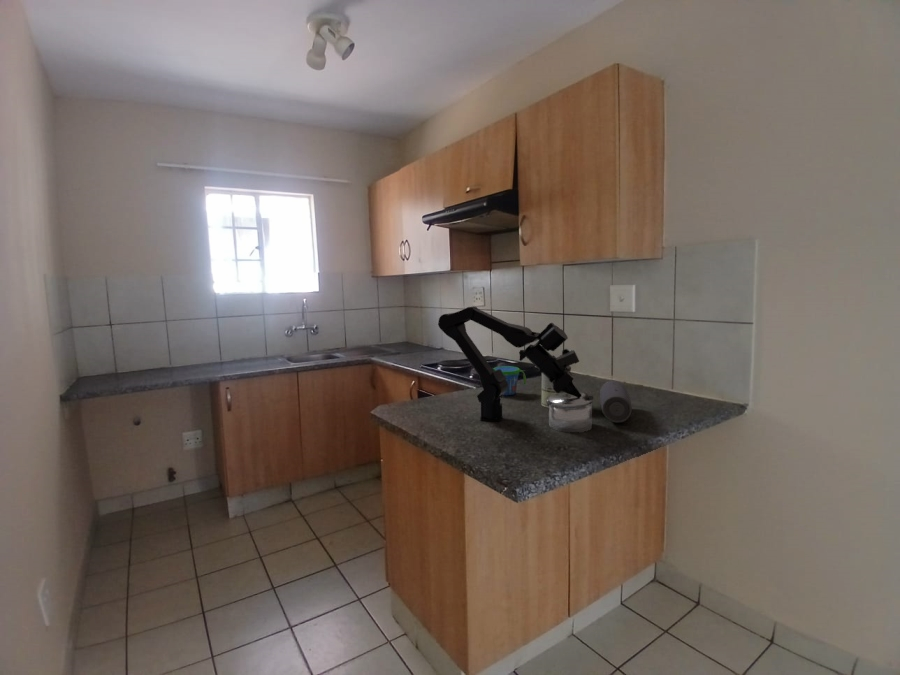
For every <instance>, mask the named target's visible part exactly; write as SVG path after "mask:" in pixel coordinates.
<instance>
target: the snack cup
mask: <svg viewBox="0 0 900 675" xmlns="http://www.w3.org/2000/svg"><path fill="white" fill-rule="evenodd" d="M492 368H493V367H492ZM493 369H494V370H498V369H500V370H501V371H502V373H503V375H504V376H505V377H506V378H507V379H506V380H507V382H508V389H507V391H506V392H505V393H503V396H513V395H515V394H516V393H517V389H518V388H517V387H518V381H519V380H518V379H519V375H520V373H522V376H523V386H525V385H526V384H527V377H526V376H527V375H526V373H525V372H524V370H522V369H520V368H519V367H517V366H512V365H511V366H508V365H507V366H506V365H505V366H495V367H494V368H493Z"/></svg>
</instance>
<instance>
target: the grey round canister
mask: <svg viewBox="0 0 900 675" xmlns="http://www.w3.org/2000/svg"><path fill="white" fill-rule="evenodd" d="M592 413H593V404H592V403H591V404H589V405H587V406H583V407H575V408H561V407H555V406H552V405H549V408H548V426H549V427H550V428H551V429H553V430H555V431H559V432H562V431H563V433H570V432H579V433H584V431H586V432H588V430H589V431H590V430H592V424H593V422H592V417H593V414H592Z"/></svg>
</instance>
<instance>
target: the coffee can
mask: <svg viewBox="0 0 900 675" xmlns="http://www.w3.org/2000/svg"><path fill="white" fill-rule="evenodd" d="M567 368H568V369H567V370H565V371H564V372H568V373H569V372H570V373H571V372H572V371H571V369H572V366H571V365H569V366H567ZM571 374H572V373H571ZM560 393H565V392H562V391H561V392H560ZM560 393H557V392H556V391H555V390H554V389H553V387H552V383H551V382H550V381H549V379H548V378H547V377H546V376H545V375H544V374H543V373H541V398H540V399H541V402H540V403H541V406H542V407H544V408H546V409H549V405H547V402H546V398H547V397H550V396H552V395H555V394H560Z"/></svg>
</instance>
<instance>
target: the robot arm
mask: <svg viewBox="0 0 900 675" xmlns="http://www.w3.org/2000/svg"><path fill="white" fill-rule="evenodd" d="M469 321H472V322H474V323H477V324H478V325H480V326H481V327H485V328H487V329H488V330H490V331H492V332H494V333H496V334H499V335H500V336H501V337H503V339H504V340H505V341H506V342H507V343H509V344H510V345H512V346H513V347H515V348H518V349H519V348H523V347H525V346H527V347H526V348H525V349H520V350H519V351H518V354H519V360H518V361H521V362H522V361H523V360H524V359H525V358H526V359H528V360H529V362H531V363H532V365H534V366H535V367H536V368H537V369H538V371H539V372H540V374H542V373H543V374H544V375H545V376H546V377H547V378H548V379H549V381H550V382H551V383H552V387H553V389H554V390H555V391H556V392H557V393H560V392H561V391H562V392H565V393H568V394H570V395H573V396H575V397H578V398H580V397H581V396H582V395H581V394H580V393H581V392H580V391H579V389H578V388H577V387H576V385H575V383H574V382H573V380H574V376H573V374H572V373H570V372H569V373H568V372H564V371H565V370H567V369H568V368H567V366H571V365H574V364H578V363H579V362H580V359H579V357H578V355H577V352H576V351H575V350H574V349H573V350H569V349H568V348H564V349H562V350H561V355H559V356H557V357H556V356H555V355H553V354H551V353H550V352H549V351H552V352H555V351H556V350H557V349H559V347H561V345H562V344H563V343H565V342H566V341H567V340H569V338H568V335H567V334H566V333H565V331H564V330H563V329H562V328H561V327H559V326H557V325H555V324H554V323H553V322H550V323H549V324H547V325H546V327H545V328H544V329H543V330H542V331H540V332H536V331H532V330H531V329H530V328H529V327H527V326H523V325H520V324H515V323H510V322H506V321H505V320H502V319H500V318H499V317H496V316H494V315H492V314H490V313H488V312H486V311H483V310H481V309H480V308H478V307H477V306H473V305H472V306H468V307H465V308H464V309H461V310H459V311H455V312H450V313H445V314H444V313H443V314H442V315H440V316H439V317H438V323H437V325H438V327H439V329H440V330H441V331H442V332H443V333H444V334H445V335H446V336H447V337H449V338H450V339H452V340H453V341H454V342H455V343H456V345H457V346H458V347H459V349H460V350H461V352H462V353H463V355H464V356H465V358H466V359H467V360H468V362H469V363H470V365H471V366H472V367H473V369H474V370H475V371H476V373H477V374H478V376H479V382H480V385H481V387H482V390H481V391H480V393H478V394H477V400H478V402H479V403H480V418H479V421H488V422H489V421H490V422H492V421H493V422H501V420H502V419H501V418H503V403H501V402H502V401H501V399H502V398H503V397H504V395H503V393H505V392H506V391H507V389H508V382H507V380H506V379H507V378H506V377H505V376H504V375H503V373H502V371H501V370H500V369H498V370H494V369H493V367H492V366H491V365H490V363H488V361H487V359H486V358H485V357H484V355H483V354H482V352H481V351H480V350H479V348H478V347H477V345H476V344H475V343H474V341H473V339H472V338H471V337H470V336H469V334H468V333H467V329H466V323H467V322H469ZM534 342H535V343H534ZM532 343H534V344H532Z"/></svg>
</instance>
